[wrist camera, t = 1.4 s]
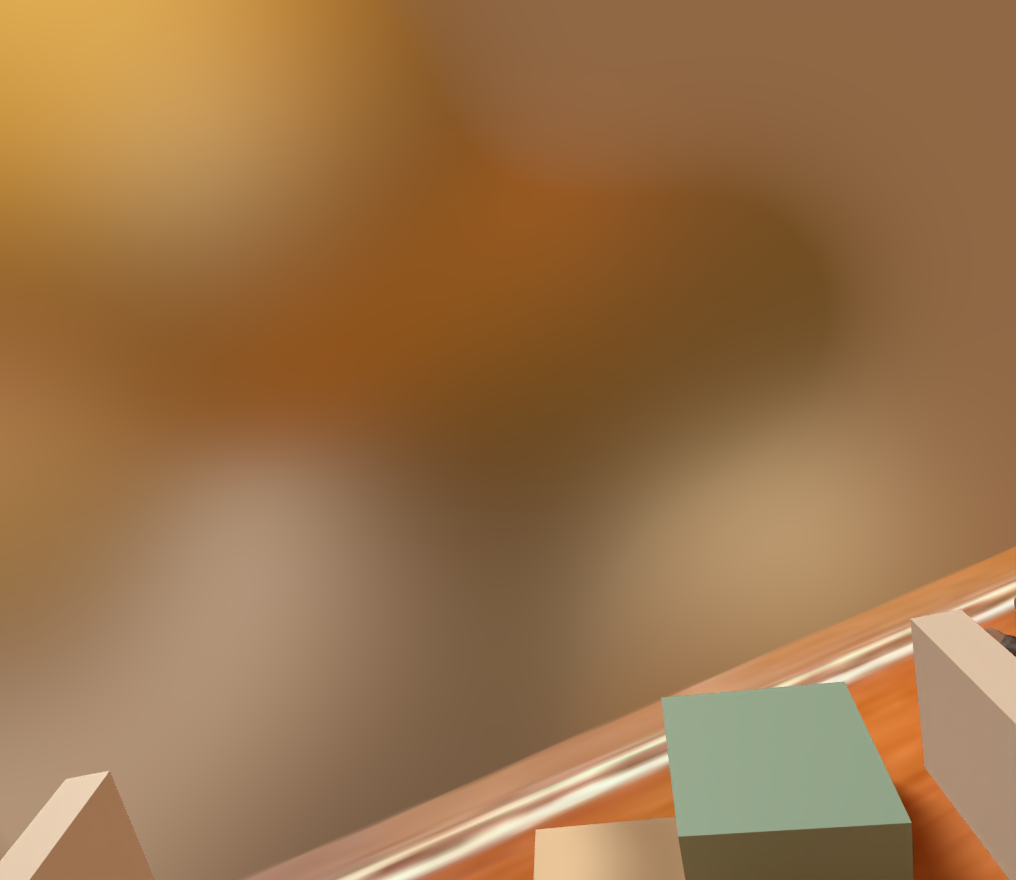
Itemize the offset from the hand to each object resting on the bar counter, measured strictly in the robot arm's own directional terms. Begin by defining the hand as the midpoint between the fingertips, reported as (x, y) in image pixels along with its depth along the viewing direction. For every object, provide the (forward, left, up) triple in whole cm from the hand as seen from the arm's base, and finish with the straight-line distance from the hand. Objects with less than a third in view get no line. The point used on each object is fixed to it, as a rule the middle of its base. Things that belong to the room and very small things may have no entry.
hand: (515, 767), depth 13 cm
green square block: (+7, +20, -22) cm, 31 cm away
